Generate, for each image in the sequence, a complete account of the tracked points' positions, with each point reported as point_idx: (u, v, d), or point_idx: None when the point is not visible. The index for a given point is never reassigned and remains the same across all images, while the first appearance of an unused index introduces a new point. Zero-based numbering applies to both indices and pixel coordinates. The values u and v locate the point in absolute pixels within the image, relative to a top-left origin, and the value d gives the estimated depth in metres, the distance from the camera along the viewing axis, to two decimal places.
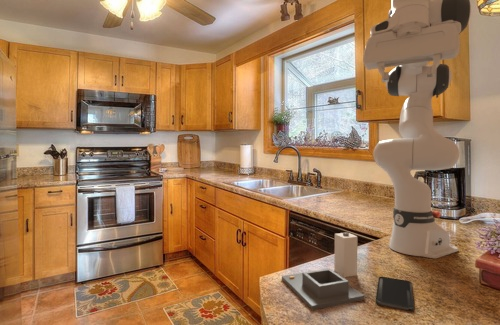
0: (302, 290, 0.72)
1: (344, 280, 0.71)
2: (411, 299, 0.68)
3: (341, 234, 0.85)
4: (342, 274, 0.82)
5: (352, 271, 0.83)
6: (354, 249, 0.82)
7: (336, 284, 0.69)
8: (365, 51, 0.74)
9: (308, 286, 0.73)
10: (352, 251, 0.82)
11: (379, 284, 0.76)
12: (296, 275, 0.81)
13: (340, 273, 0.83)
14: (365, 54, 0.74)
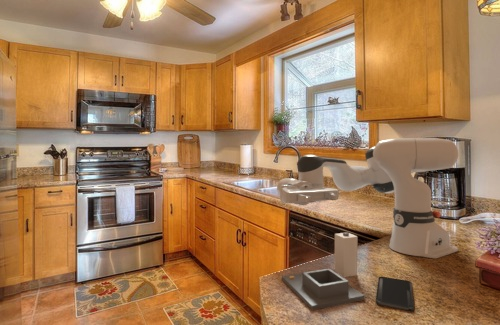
0: (302, 290, 0.72)
1: (344, 280, 0.71)
2: (411, 299, 0.68)
3: (341, 234, 0.85)
4: (342, 274, 0.82)
5: (352, 271, 0.83)
6: (354, 249, 0.82)
7: (336, 284, 0.69)
8: (285, 190, 0.99)
9: (308, 286, 0.73)
10: (352, 251, 0.82)
11: (379, 284, 0.76)
12: (296, 275, 0.81)
13: (340, 273, 0.83)
14: (286, 190, 0.99)
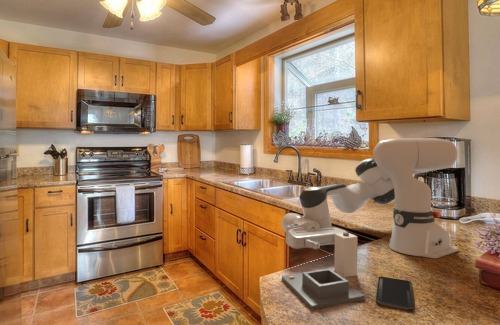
0: (302, 290, 0.72)
1: (344, 280, 0.71)
2: (411, 299, 0.68)
3: (341, 234, 0.85)
4: (342, 274, 0.82)
5: (352, 271, 0.83)
6: (354, 249, 0.82)
7: (336, 284, 0.69)
8: (291, 234, 0.94)
9: (308, 286, 0.73)
10: (352, 251, 0.82)
11: (379, 284, 0.76)
12: (296, 275, 0.81)
13: (340, 273, 0.83)
14: (293, 235, 0.93)
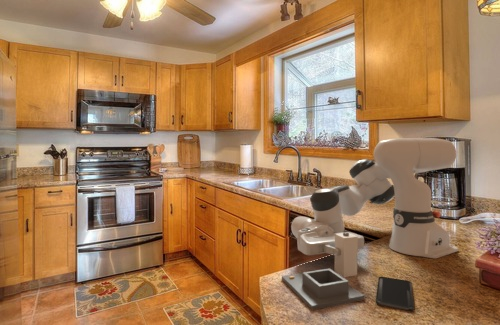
0: (302, 290, 0.72)
1: (344, 280, 0.71)
2: (411, 299, 0.68)
3: (341, 234, 0.85)
4: (342, 274, 0.82)
5: (352, 271, 0.83)
6: (354, 249, 0.82)
7: (336, 284, 0.69)
8: (304, 239, 0.88)
9: (308, 286, 0.73)
10: (352, 251, 0.82)
11: (379, 284, 0.76)
12: (296, 275, 0.81)
13: (340, 273, 0.83)
14: (305, 240, 0.87)
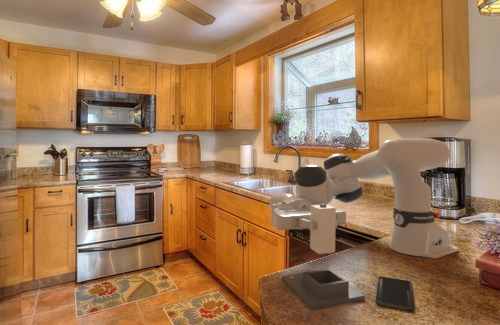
0: (302, 290, 0.72)
1: (344, 280, 0.71)
2: (411, 299, 0.68)
3: (318, 206, 0.74)
4: (317, 250, 0.72)
5: (329, 248, 0.72)
6: (332, 222, 0.72)
7: (336, 284, 0.69)
8: (276, 212, 0.77)
9: (308, 286, 0.73)
10: (329, 224, 0.71)
11: (379, 284, 0.76)
12: (296, 275, 0.81)
13: (316, 250, 0.72)
14: (278, 213, 0.76)
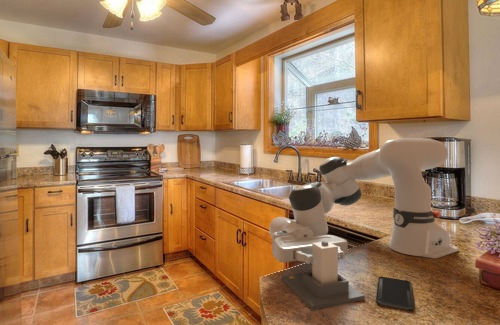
0: (302, 290, 0.72)
1: (344, 280, 0.71)
2: (411, 299, 0.68)
3: (319, 243, 0.73)
4: None
5: None
6: (334, 261, 0.71)
7: (336, 284, 0.69)
8: (278, 244, 0.76)
9: (308, 286, 0.73)
10: (331, 263, 0.71)
11: (379, 284, 0.76)
12: (296, 275, 0.81)
13: None
14: (279, 245, 0.75)
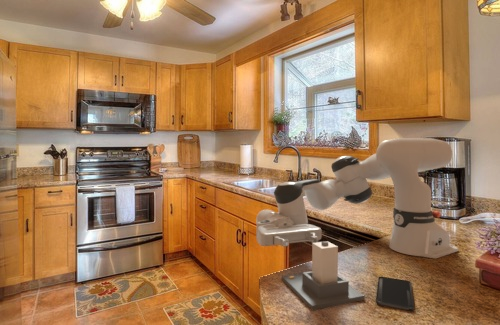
0: (302, 290, 0.72)
1: (344, 280, 0.71)
2: (411, 299, 0.68)
3: (319, 243, 0.73)
4: None
5: None
6: (334, 261, 0.71)
7: (336, 284, 0.69)
8: (260, 230, 0.88)
9: (308, 286, 0.73)
10: (331, 263, 0.71)
11: (379, 284, 0.76)
12: (296, 275, 0.81)
13: None
14: (261, 231, 0.88)
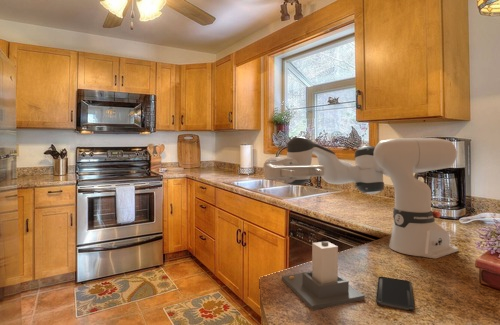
0: (302, 290, 0.72)
1: (344, 280, 0.71)
2: (411, 299, 0.68)
3: (319, 243, 0.73)
4: None
5: None
6: (334, 261, 0.71)
7: (336, 284, 0.69)
8: (268, 165, 0.97)
9: (308, 286, 0.73)
10: (331, 263, 0.71)
11: (379, 284, 0.76)
12: (296, 275, 0.81)
13: None
14: (269, 165, 0.96)
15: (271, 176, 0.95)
